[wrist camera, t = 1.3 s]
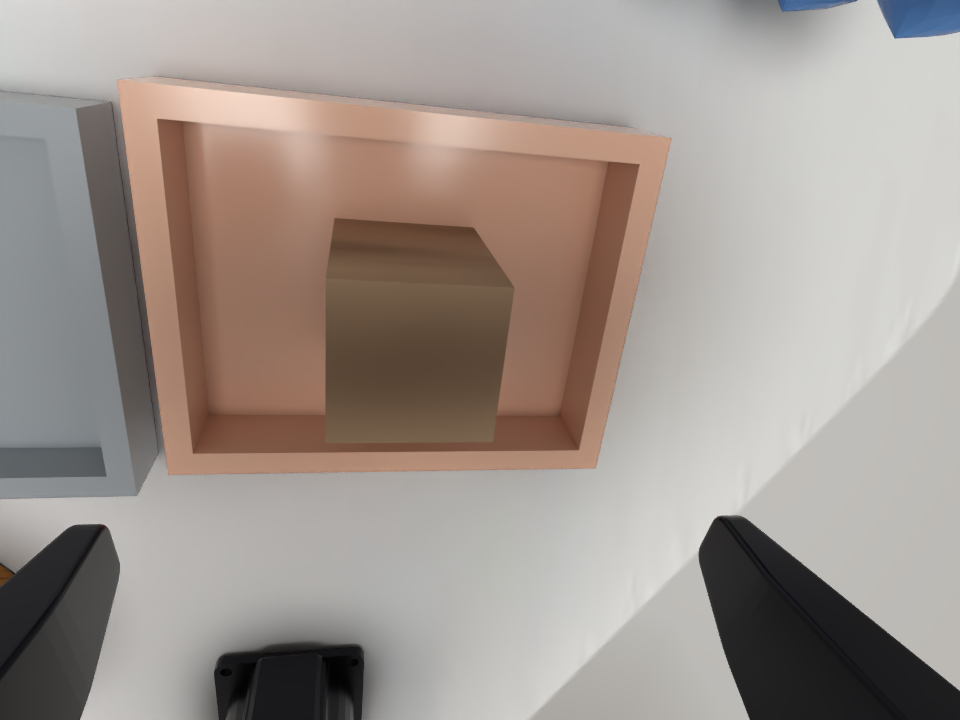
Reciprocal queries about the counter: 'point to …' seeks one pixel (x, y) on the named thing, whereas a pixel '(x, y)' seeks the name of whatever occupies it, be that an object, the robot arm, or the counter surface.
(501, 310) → the block
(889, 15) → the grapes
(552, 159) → the dish
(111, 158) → the tray
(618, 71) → the counter surface
